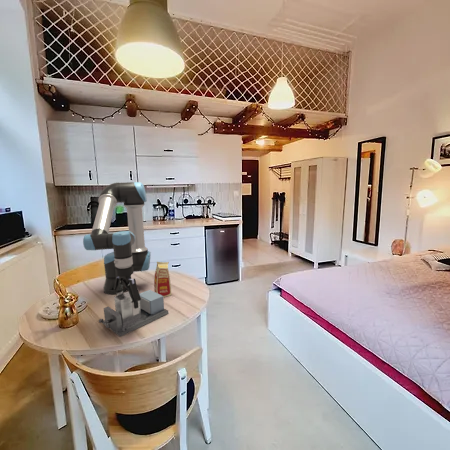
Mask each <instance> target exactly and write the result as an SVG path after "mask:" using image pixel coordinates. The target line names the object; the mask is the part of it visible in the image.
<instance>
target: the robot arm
mask: <svg viewBox="0 0 450 450" xmlns="http://www.w3.org/2000/svg"><path fill="white" fill-rule="evenodd" d="M147 201H148V198H147V193H146V188H145V186H144V184H143V182H140V181H139V182H138V181H137V182H136V181H134V182H133V181H132V182H129V181H127V182H114V183H110V184H108V185H107V186H106V187H105V188H104V189H103V190H101V192H100V194H99V196H98V199H97V202H98V207H97V211H96V215H95V218H94V222H93V226H92V230H91V233H88V234H85V235H84V236H83V238H82V243H83V247H84V250H86V251H100V250H101V251H103V250H113V251H111V252H108V253H107V254H105V255H104V256H103V265H104V272H105V273H104V276H105V281H104V285H103V292H104V294H107V295H116V296H117V295H120V294H123V293H125V292H129V294H130V296H131V299H132V302H131V303H132V314H133V316H134V315H136V314H139V307H138V301H139V300H141V297H140V292H139V289H138V285H137V281H136V280H137V279H136V278H132V275H133V274H134V273H135V272H145V271H148V270H149V269H150V266H151V251H149V249H148V248H147V247H146V244H145V243H146V242H145V233H144V232H145V231H144V217H143V214H144V213H143V207H144V206H145V203H146V202H147ZM118 203H123V206H124V208H126V214H127V228H128V230H126V231H125V230H124V231H123V230H122V231H116V232H110V228H111V227H110V226H111V223H112V218H113V213H114V210H115V207H116V205H117V204H118ZM109 232H110V233H109Z"/></svg>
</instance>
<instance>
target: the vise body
mask: <svg viewBox="0 0 450 450" xmlns="http://www.w3.org/2000/svg"><path fill="white" fill-rule="evenodd" d="M140 310H141V317H140V318H138V319H136V320H134V321H131V322H129V323H127V324H125V325H122V321H121V315H120V314H119V313H117V312H116V310H114V309H113V308H111V307H110V306H106V307H103V315H104V319H103V318H99V319H98V323H99V324H103V325H104V326H105V328H106V329H109V330H111V331H112V332H113V333H114V334H116V335H117V336H119V337H121V338H122V337H123V336H125V335H127V334H130V333H131V332H133V331H135V330H137V329H140V328H142V327H145V325H147V324H150V323H152V322H153V321H156V320H159V319H160V318H162V317H164V316H166V315H168V314H169V310H168V309H167V308H164V310H161V311H159V312H157V313H155V314H153V315H151V314H149V313H148V312H146V311H144V310H142V309H141V308H140Z"/></svg>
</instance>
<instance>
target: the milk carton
mask: <svg viewBox="0 0 450 450" xmlns="http://www.w3.org/2000/svg"><path fill="white" fill-rule="evenodd" d="M169 263H170V262H169V261H167V262H162V261H161V262H160V261H156V267H155V272H154V278H153V279H154V280H153V289H154V290H153V291H154V292H156V293H158V294H160V295H162V296H163V298H166V296H167V297H169V296H172V284H171V278H170V277H171V276H170V272H169Z"/></svg>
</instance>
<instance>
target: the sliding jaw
mask: <svg viewBox="0 0 450 450" xmlns="http://www.w3.org/2000/svg"><path fill="white" fill-rule="evenodd" d="M139 294H140V297H141V300H140V308H141V309H142V310H144V311H146V312H148V313H149V314H151V315H153V314H155V313H157V312H159V311H161V310H164V309H165V301H164V297H163V296H162V295H160V294H158V293H156V292H155V291H154V290H152V289H148V290H145V291H143V292H139Z"/></svg>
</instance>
